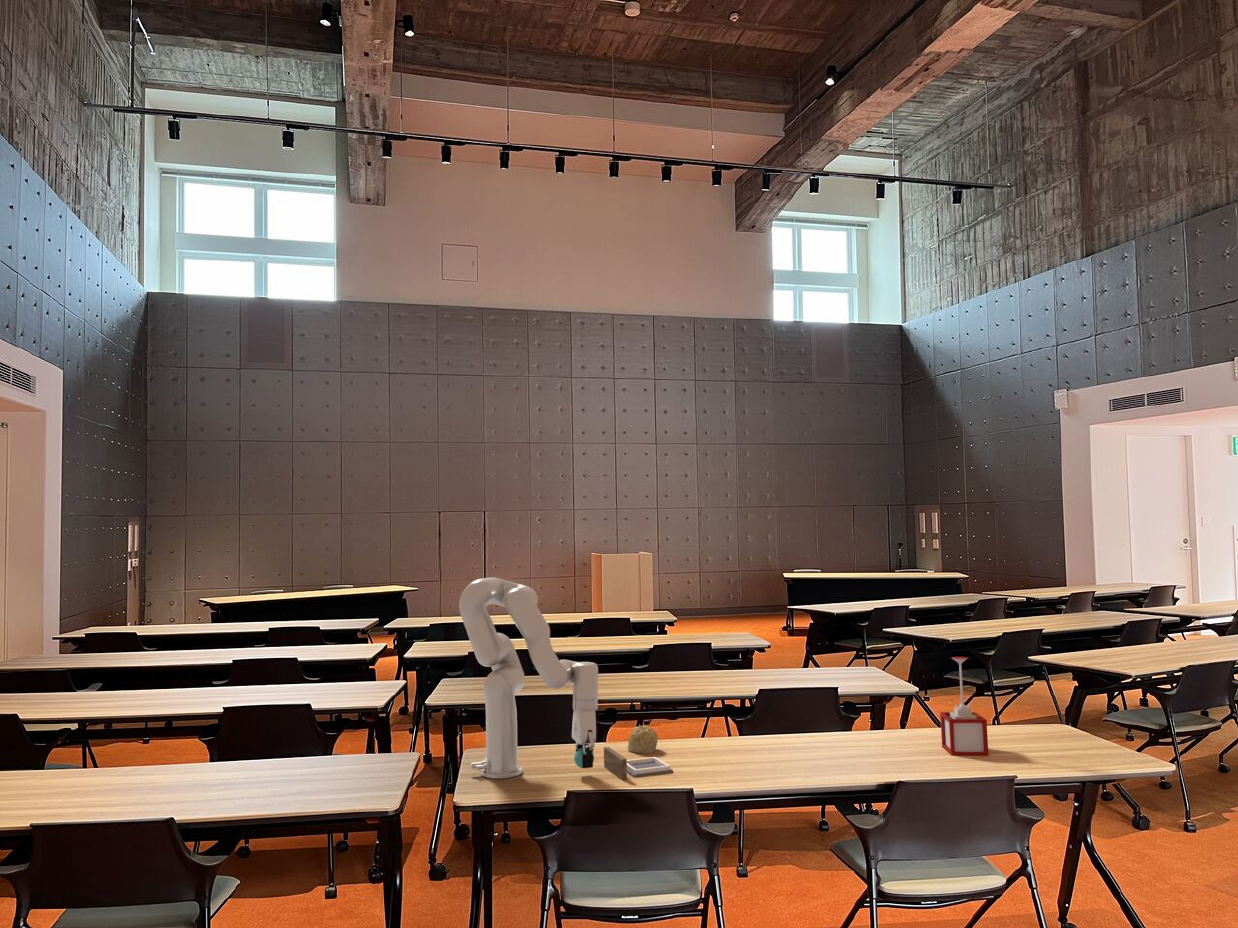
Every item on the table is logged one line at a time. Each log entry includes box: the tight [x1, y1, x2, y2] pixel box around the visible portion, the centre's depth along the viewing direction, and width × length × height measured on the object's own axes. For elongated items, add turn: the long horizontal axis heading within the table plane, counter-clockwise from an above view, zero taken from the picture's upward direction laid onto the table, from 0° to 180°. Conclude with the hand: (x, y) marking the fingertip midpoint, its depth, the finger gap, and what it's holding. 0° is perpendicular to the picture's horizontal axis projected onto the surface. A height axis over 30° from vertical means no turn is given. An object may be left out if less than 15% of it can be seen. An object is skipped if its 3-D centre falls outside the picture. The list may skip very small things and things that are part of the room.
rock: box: [627, 725, 659, 754], centre depth 285 cm, size 10×11×10 cm
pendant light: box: [939, 656, 990, 757], centre depth 277 cm, size 11×11×30 cm
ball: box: [573, 747, 595, 769], centre depth 255 cm, size 6×6×6 cm
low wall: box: [603, 746, 628, 781], centre depth 258 cm, size 2×16×6 cm, turn 20°
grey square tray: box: [627, 756, 674, 778], centre depth 262 cm, size 13×13×2 cm
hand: (584, 763), depth 255 cm, fingers closed on ball, 5 cm apart
